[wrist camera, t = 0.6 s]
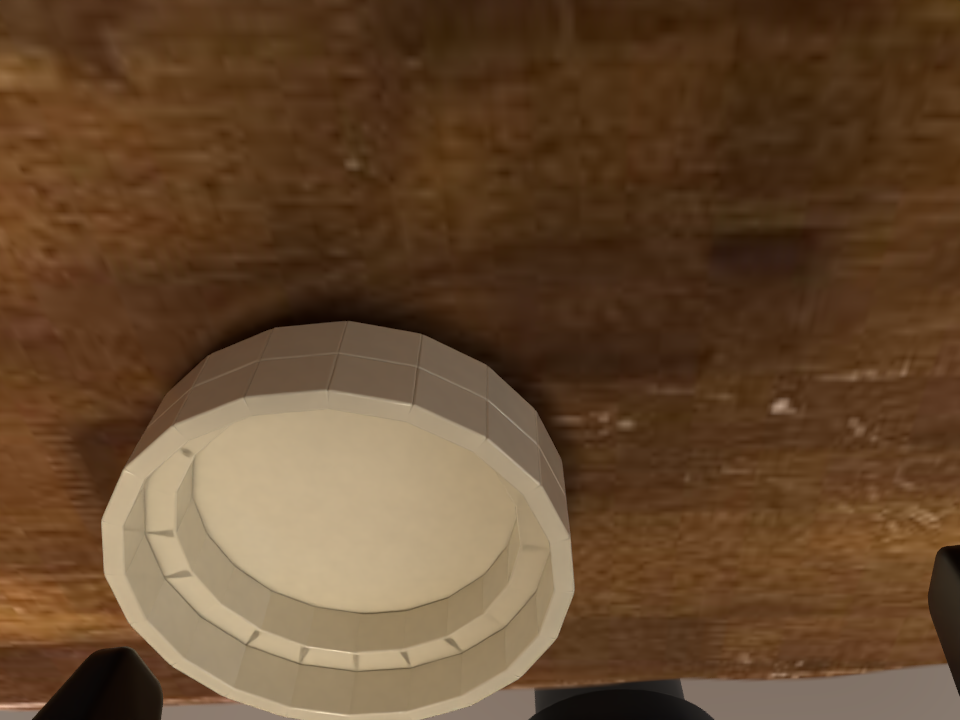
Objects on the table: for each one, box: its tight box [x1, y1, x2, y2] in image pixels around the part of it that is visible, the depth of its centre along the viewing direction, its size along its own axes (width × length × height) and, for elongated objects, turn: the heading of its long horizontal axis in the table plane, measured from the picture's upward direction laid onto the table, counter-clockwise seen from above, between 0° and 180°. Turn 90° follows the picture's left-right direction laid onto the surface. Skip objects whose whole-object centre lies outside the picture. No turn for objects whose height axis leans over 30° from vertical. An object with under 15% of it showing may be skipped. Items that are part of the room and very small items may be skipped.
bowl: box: [101, 321, 575, 720], centre depth 26 cm, size 13×13×4 cm
